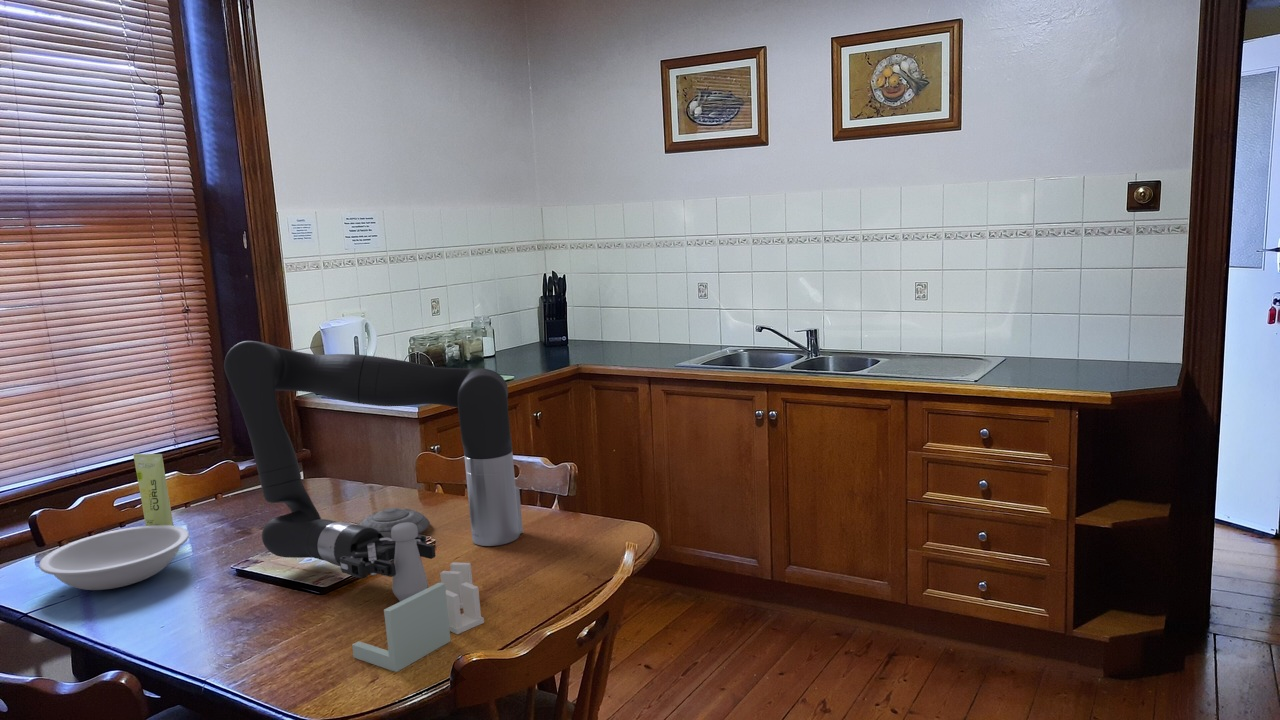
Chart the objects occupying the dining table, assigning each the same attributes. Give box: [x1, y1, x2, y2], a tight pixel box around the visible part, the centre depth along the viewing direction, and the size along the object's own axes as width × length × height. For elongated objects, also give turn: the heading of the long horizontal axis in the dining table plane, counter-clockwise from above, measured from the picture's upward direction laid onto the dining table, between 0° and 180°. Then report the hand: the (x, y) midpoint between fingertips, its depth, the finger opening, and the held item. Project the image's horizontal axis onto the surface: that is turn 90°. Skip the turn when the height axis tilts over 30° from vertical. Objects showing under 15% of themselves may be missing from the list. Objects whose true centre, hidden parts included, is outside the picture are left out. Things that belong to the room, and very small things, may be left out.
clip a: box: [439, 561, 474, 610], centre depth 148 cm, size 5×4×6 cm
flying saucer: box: [358, 507, 431, 538], centre depth 183 cm, size 15×15×6 cm
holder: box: [351, 581, 452, 673], centre depth 132 cm, size 10×9×9 cm
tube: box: [133, 453, 175, 526], centre depth 183 cm, size 6×5×20 cm
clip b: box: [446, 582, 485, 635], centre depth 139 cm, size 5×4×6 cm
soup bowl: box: [38, 525, 190, 591], centre depth 166 cm, size 24×24×7 cm
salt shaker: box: [391, 522, 429, 602], centre depth 149 cm, size 6×6×13 cm
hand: (414, 561), depth 148 cm, fingers open, 8 cm apart
